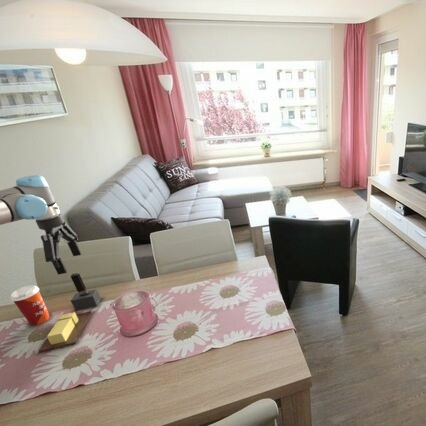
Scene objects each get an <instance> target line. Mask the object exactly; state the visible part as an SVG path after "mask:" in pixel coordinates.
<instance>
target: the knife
mask: <svg viewBox="0 0 426 426" xmlns="http://www.w3.org/2000/svg"><path fill="white" fill-rule="evenodd" d="M70 279H71V281H72V283H73V285H74V287H75V289H76V291H77V293H79V294H80V296H85V295H88V293H87V291H88V290H87V287H86V284H85V283H84V281H83V279H82V277H81V274H80V273H79V272H76V273H72V274H71V275H70Z"/></svg>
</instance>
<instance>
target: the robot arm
mask: <svg viewBox="0 0 426 426" xmlns="http://www.w3.org/2000/svg"><path fill="white" fill-rule="evenodd" d="M15 184H16V185H15V186H11V187H9V188H5V189H1V190H0V226H2V225H5V224H9V223H14V222H18V221H22V220H29V221H30V220H35V223H36V226H37V227H38V229H39V230H42V231H44V232H45V234H43V235H40V239H41V241H42V247H43V252H44V258H45V259H44V260H45V262H46V263H50V262H51V264H52V266H53V267H54V270H55V271H56V273H57V275H64V274H67V273H68V270H67V268H66V266H65V264H64V262H63V260H62V257H59V256H60V254H59V250H60V249H59V247H60V246H59V243H60V242H61V239H63V240H65V241H67V246H68V248H69V250H70V252H71V254H72V257H77V256H82V252H81V249H80V247H79V245H78V243H77V241H78V240H79V237H78V234H77V233H76V232H75V231H74V230H73V229H72V228H71V226H70V225H68V223H67V221H66V220H64V217H63V214H62V213H61V212H60V211H61V210H60V207H59V206H58V205H57V203H56V199H55V198H54V196H53V193H52V191H51V189H50V185H49V184H48V182H47V180H46V179H45V177H44V176H43V175H39V174H34V175H27V176H23V177H20V178H17V179H16V180H15Z"/></svg>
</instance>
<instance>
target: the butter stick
mask: <svg viewBox="0 0 426 426" xmlns="http://www.w3.org/2000/svg"><path fill="white" fill-rule="evenodd" d="M74 327H75V325H74V323H73V321H72V319H71V318H70V319H65V320H61V321H59V320H57V321H56V322H55V324H54V326H52V328H51V330H50V331H49V332H48V334H47V335H46V339H47V338H48V340H49V342H50V343H51V345H53V344H57V343H61V342H65V341H66V340H67V338H68V337H69V335H70V333H71V332H72V330H73V328H74Z"/></svg>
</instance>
